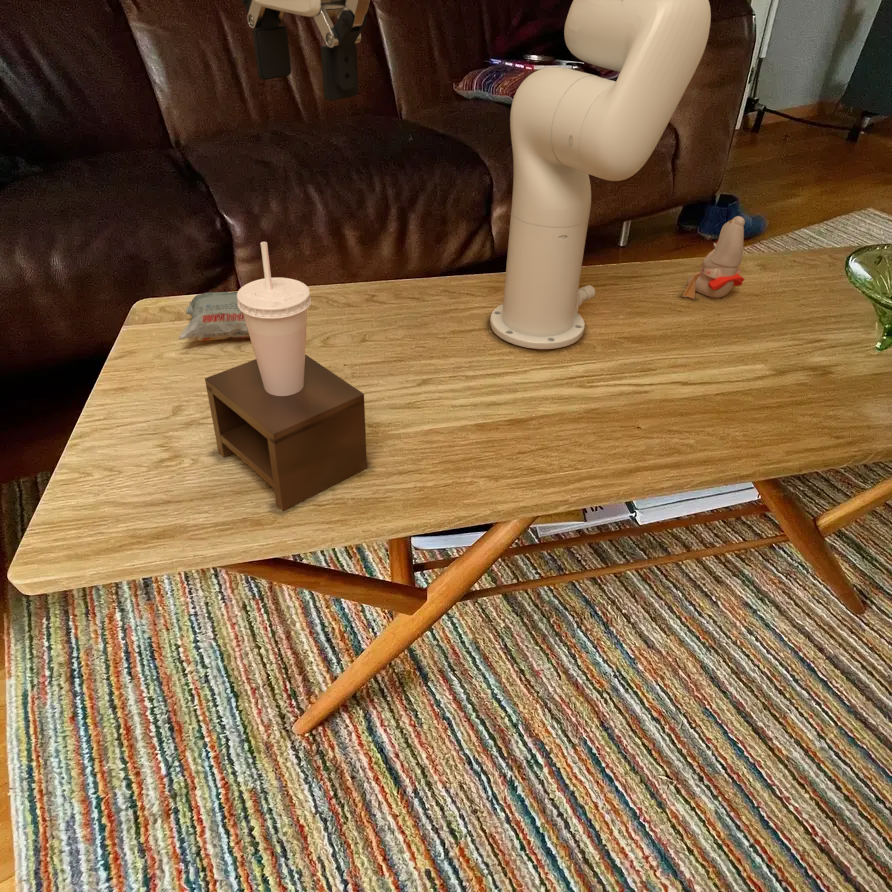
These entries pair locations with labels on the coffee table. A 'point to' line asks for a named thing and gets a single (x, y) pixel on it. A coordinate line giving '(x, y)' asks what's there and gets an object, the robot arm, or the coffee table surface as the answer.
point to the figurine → (720, 263)
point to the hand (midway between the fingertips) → (307, 87)
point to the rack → (290, 429)
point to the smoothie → (277, 328)
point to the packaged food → (215, 317)
